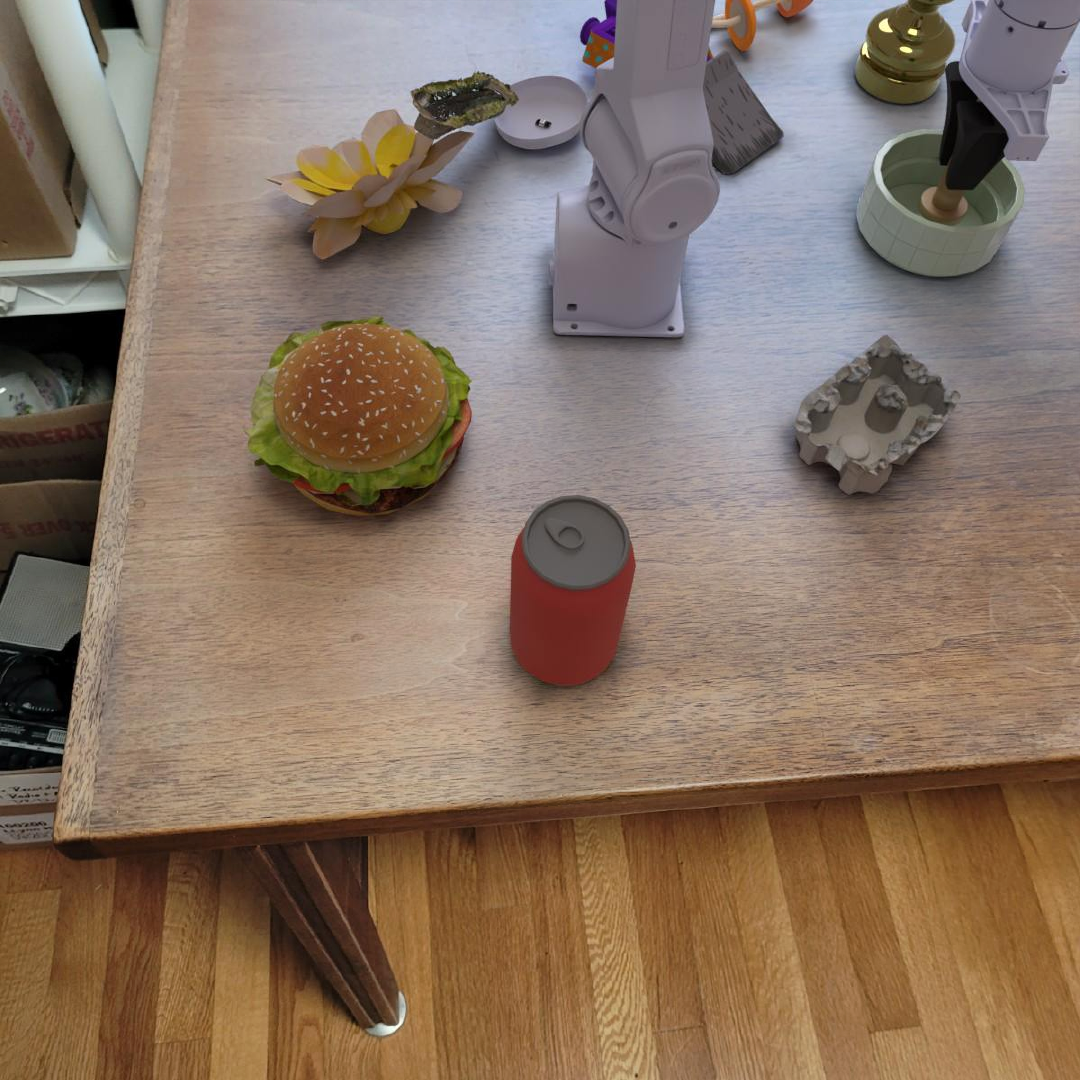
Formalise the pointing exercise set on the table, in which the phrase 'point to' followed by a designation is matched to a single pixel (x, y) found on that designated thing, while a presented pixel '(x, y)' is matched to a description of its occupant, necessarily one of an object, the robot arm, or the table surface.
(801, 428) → the egg carton
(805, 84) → the table surface
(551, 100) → the shallow white dish
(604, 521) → the beer can
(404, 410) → the food
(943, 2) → the brass candlestick
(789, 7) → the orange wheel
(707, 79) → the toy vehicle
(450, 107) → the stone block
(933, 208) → the wooden pestle
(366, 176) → the decorative flower
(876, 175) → the bowl
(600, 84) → the robot arm
